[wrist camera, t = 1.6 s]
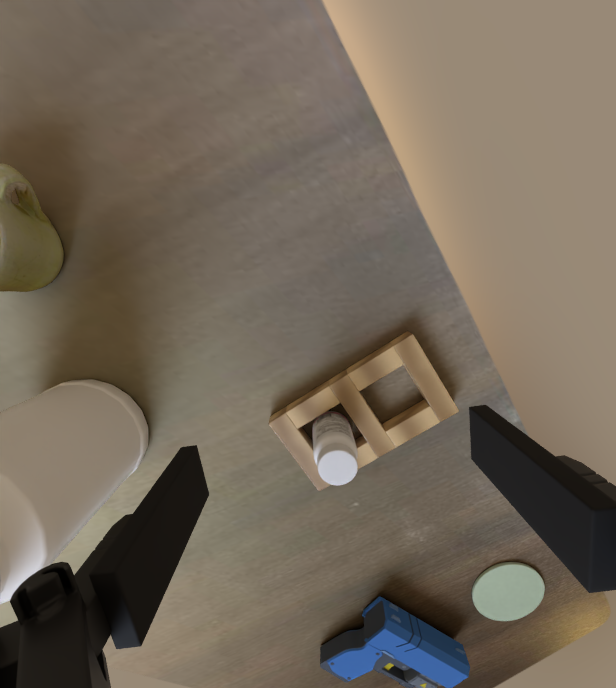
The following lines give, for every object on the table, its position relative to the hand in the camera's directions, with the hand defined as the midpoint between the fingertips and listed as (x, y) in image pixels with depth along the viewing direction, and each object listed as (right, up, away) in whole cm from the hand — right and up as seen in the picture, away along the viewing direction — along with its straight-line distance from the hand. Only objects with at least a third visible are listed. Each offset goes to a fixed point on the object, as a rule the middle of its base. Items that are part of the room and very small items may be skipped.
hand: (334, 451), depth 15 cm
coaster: (+27, -30, +30) cm, 50 cm away
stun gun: (+11, -39, +32) cm, 52 cm away
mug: (-31, +17, +20) cm, 41 cm away
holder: (+5, -3, +24) cm, 25 cm away
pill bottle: (+2, -5, +25) cm, 25 cm away
